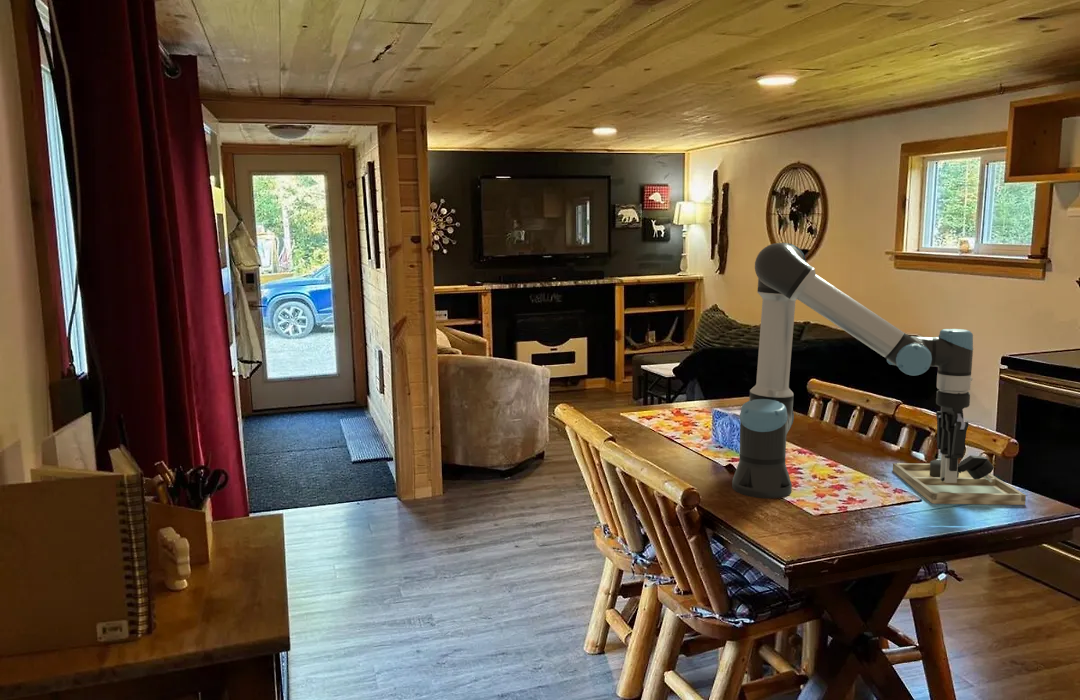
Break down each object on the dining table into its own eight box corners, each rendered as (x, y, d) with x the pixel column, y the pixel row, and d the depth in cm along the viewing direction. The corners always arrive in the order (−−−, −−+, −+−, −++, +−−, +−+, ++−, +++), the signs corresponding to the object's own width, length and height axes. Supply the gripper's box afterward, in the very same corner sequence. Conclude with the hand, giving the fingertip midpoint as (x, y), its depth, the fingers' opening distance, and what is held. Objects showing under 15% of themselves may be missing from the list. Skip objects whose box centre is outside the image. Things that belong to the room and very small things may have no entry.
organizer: (932, 503, 192) (932, 493, 192) (892, 471, 219) (893, 463, 219) (1025, 504, 191) (1025, 495, 190) (973, 472, 217) (974, 464, 217)
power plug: (936, 475, 201) (976, 448, 199) (954, 498, 201) (995, 471, 199) (943, 480, 196) (984, 453, 193) (962, 504, 196) (1004, 477, 193)
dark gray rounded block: (936, 479, 208) (937, 466, 207) (925, 472, 215) (925, 459, 214) (963, 479, 207) (964, 466, 207) (950, 472, 214) (951, 459, 214)
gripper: (983, 396, 187) (977, 490, 191) (955, 385, 202) (950, 472, 205) (950, 396, 188) (945, 489, 191) (925, 385, 203) (921, 472, 206)
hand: (948, 480), depth 198 cm, fingers closed on power plug, 2 cm apart
